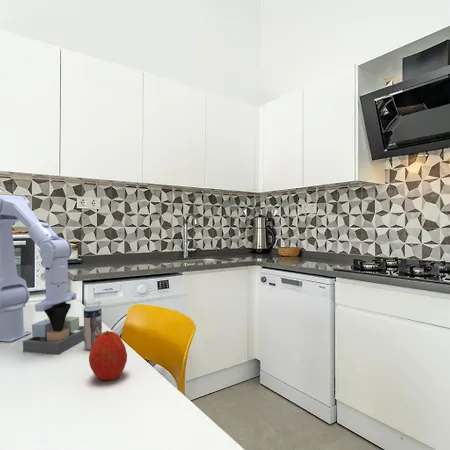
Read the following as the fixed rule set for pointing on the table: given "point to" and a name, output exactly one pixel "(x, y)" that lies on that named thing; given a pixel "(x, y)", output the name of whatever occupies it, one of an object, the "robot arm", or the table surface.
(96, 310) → the beer can
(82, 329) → the grey tray
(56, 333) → the key terracotta
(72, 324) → the key sage
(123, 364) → the apple
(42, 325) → the pale blue block
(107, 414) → the table surface
